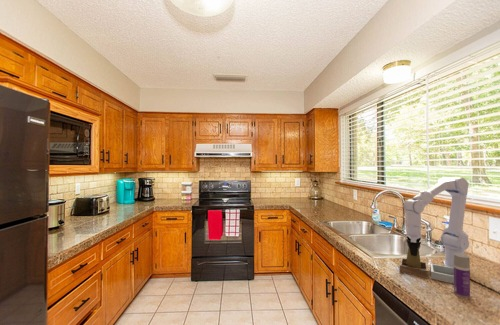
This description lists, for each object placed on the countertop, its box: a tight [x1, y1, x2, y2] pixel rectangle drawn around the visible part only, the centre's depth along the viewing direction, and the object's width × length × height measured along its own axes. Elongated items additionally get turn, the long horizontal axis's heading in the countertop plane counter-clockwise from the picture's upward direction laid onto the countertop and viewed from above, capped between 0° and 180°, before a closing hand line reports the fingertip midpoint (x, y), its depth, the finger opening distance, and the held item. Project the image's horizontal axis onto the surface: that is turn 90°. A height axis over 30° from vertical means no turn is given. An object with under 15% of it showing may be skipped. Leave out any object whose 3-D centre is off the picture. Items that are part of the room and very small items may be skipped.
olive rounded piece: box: [405, 242, 422, 268], centre depth 114 cm, size 6×6×11 cm
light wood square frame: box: [398, 257, 430, 279], centre depth 114 cm, size 11×11×3 cm
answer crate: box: [429, 263, 454, 284], centre depth 107 cm, size 11×11×3 cm
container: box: [453, 253, 471, 298], centre depth 93 cm, size 5×5×15 cm
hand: (413, 253), depth 114 cm, fingers closed on olive rounded piece, 5 cm apart
